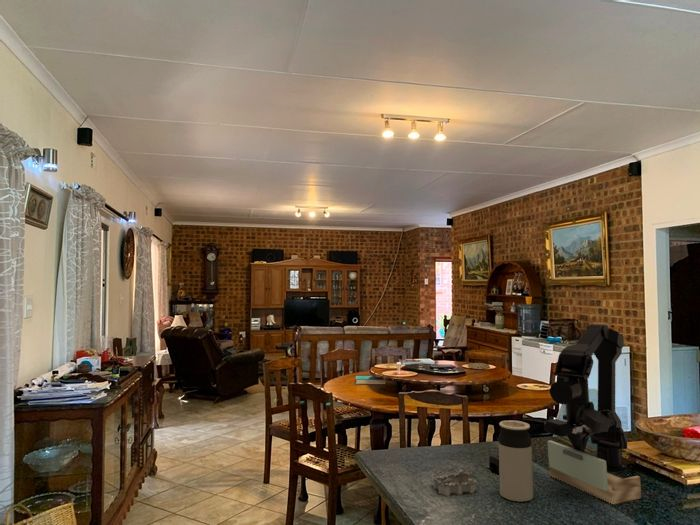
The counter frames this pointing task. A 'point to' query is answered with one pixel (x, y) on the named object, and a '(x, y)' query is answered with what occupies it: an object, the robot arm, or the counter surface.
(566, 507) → the counter surface
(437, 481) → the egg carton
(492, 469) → the build plate
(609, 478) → the cart bed
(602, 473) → the panel
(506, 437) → the travel mug
